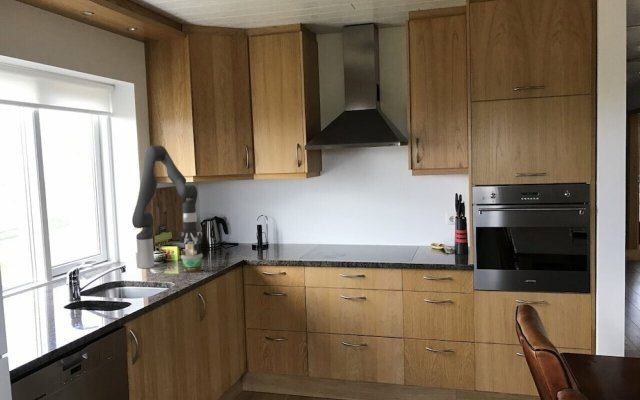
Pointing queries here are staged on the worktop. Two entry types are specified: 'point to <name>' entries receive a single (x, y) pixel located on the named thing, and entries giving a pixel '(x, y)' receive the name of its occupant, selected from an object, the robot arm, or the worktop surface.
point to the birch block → (190, 249)
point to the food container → (192, 263)
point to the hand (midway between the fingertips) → (191, 250)
